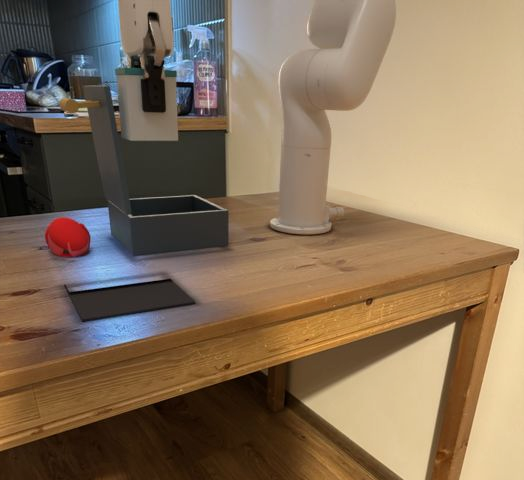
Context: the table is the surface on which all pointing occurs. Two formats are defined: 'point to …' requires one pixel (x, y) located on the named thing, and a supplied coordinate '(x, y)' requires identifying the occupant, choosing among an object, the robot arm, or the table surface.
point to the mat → (128, 299)
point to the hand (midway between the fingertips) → (148, 110)
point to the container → (132, 115)
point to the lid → (104, 142)
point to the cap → (67, 237)
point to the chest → (169, 225)
